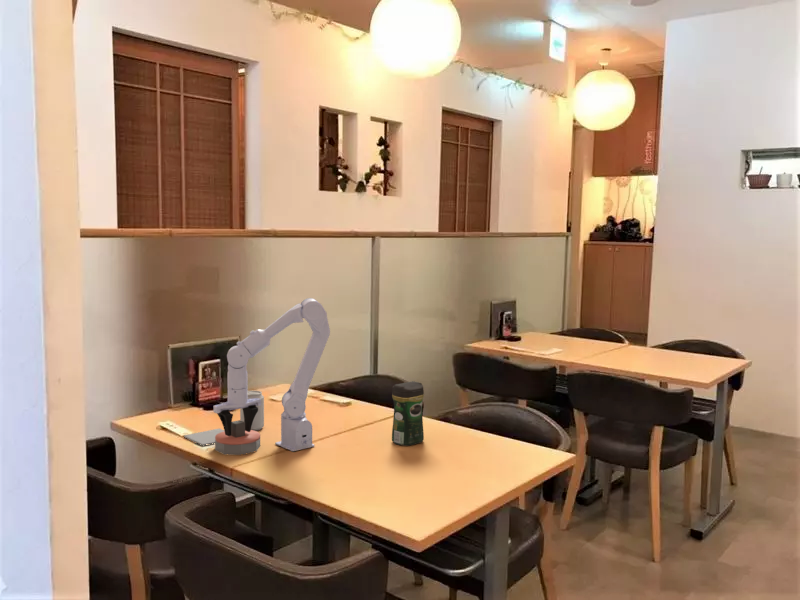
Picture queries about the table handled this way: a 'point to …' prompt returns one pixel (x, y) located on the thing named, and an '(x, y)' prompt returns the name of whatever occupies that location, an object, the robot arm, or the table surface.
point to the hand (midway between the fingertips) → (237, 433)
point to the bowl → (237, 448)
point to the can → (259, 417)
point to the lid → (238, 435)
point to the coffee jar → (407, 413)
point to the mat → (204, 436)
